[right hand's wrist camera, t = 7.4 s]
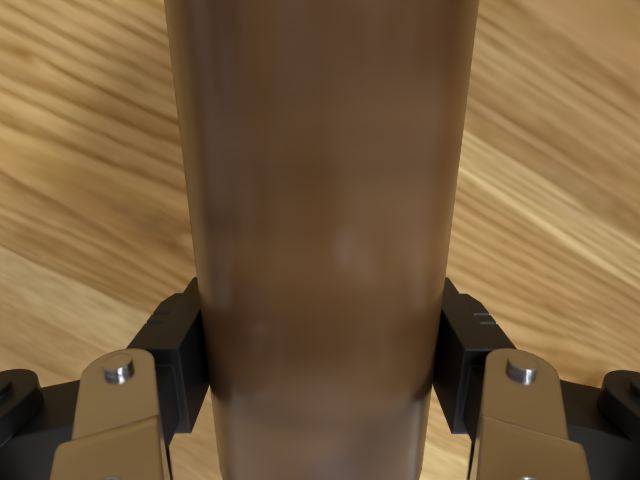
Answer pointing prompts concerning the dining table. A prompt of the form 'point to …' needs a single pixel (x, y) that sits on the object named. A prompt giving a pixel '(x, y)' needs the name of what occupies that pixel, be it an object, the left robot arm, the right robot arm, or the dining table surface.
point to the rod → (321, 221)
